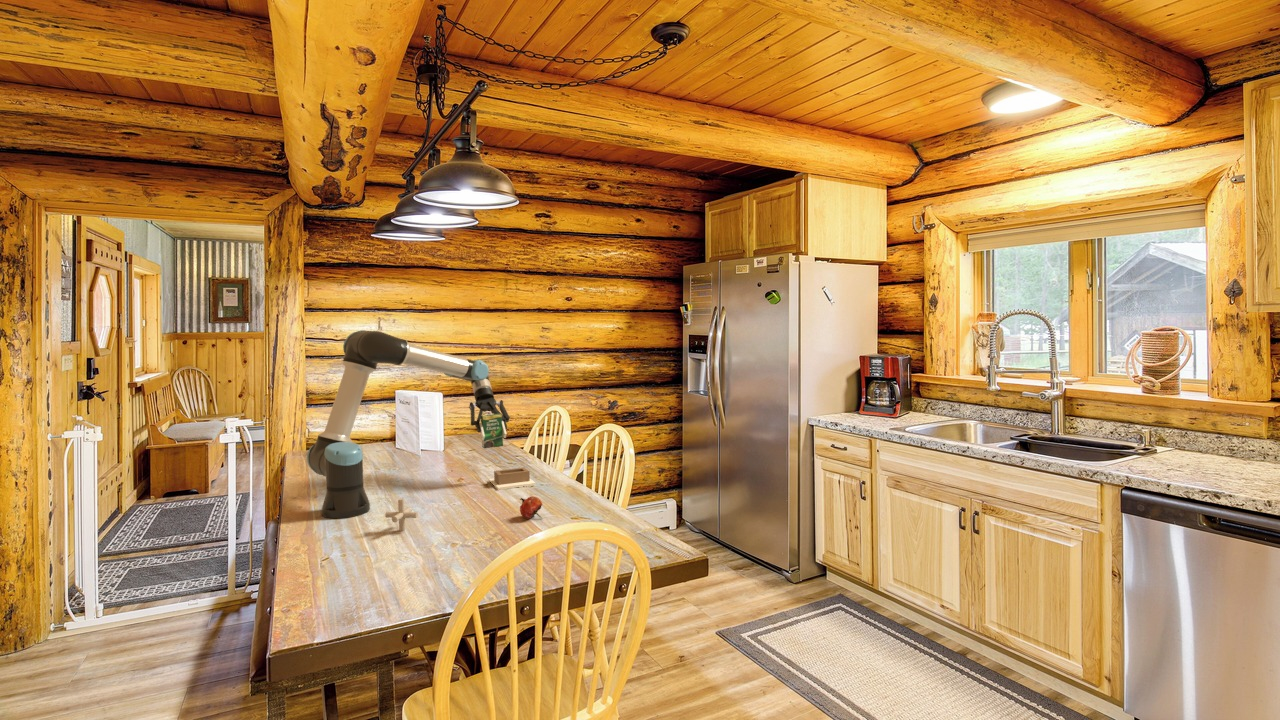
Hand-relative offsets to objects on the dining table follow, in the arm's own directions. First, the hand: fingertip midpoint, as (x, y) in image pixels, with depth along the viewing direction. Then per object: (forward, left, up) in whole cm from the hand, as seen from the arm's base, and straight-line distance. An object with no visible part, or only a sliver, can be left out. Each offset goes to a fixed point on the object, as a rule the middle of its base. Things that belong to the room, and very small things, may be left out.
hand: (494, 436), depth 256 cm
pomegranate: (-47, -1, -20) cm, 51 cm away
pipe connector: (-40, +39, -20) cm, 60 cm away
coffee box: (+3, 0, -5) cm, 6 cm away
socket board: (0, -7, -19) cm, 20 cm away
